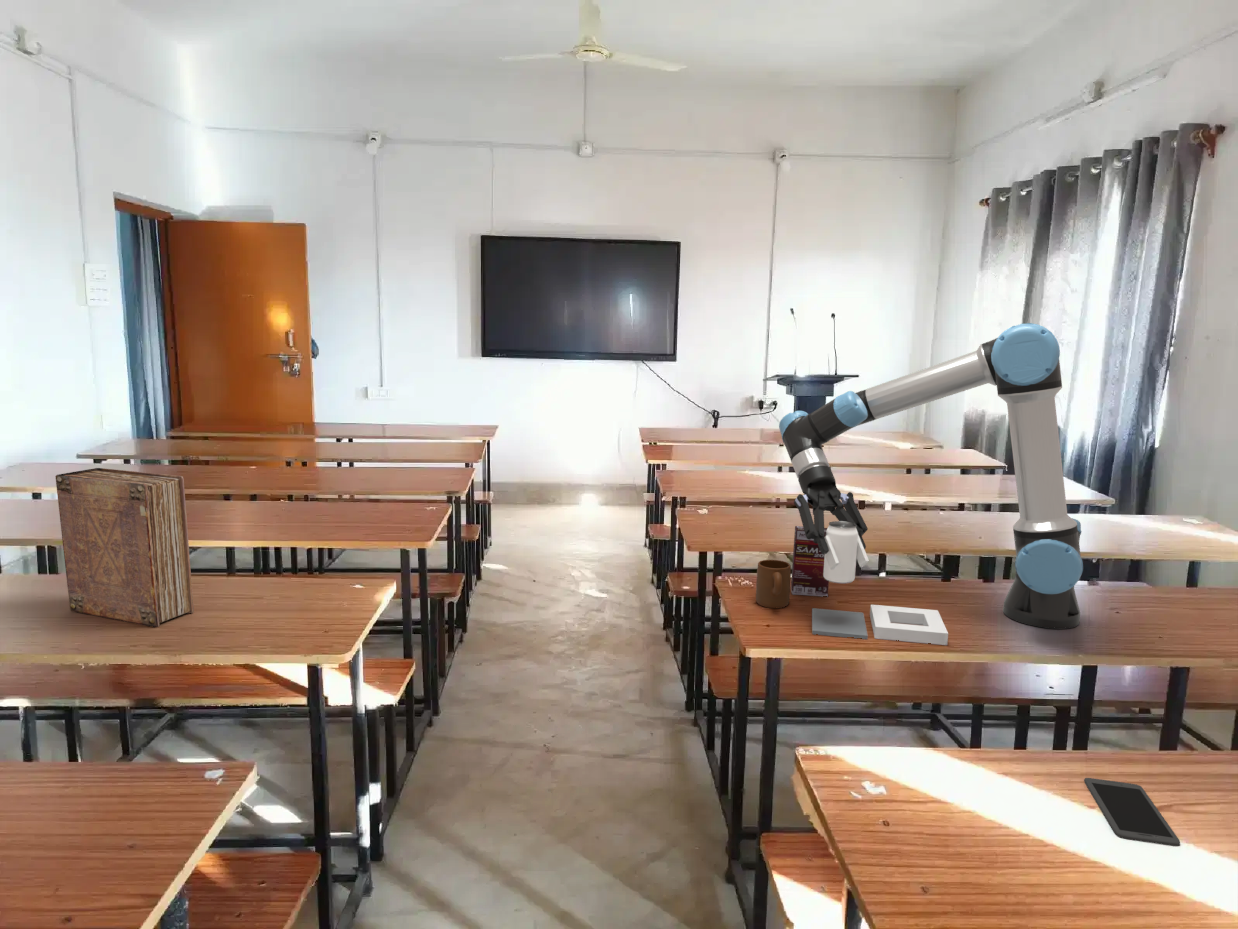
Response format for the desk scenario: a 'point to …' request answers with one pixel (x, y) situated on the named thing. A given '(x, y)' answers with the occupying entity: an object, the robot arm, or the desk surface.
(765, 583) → the mug
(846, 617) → the mat
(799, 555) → the supplement box
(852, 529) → the can
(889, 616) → the can holder
